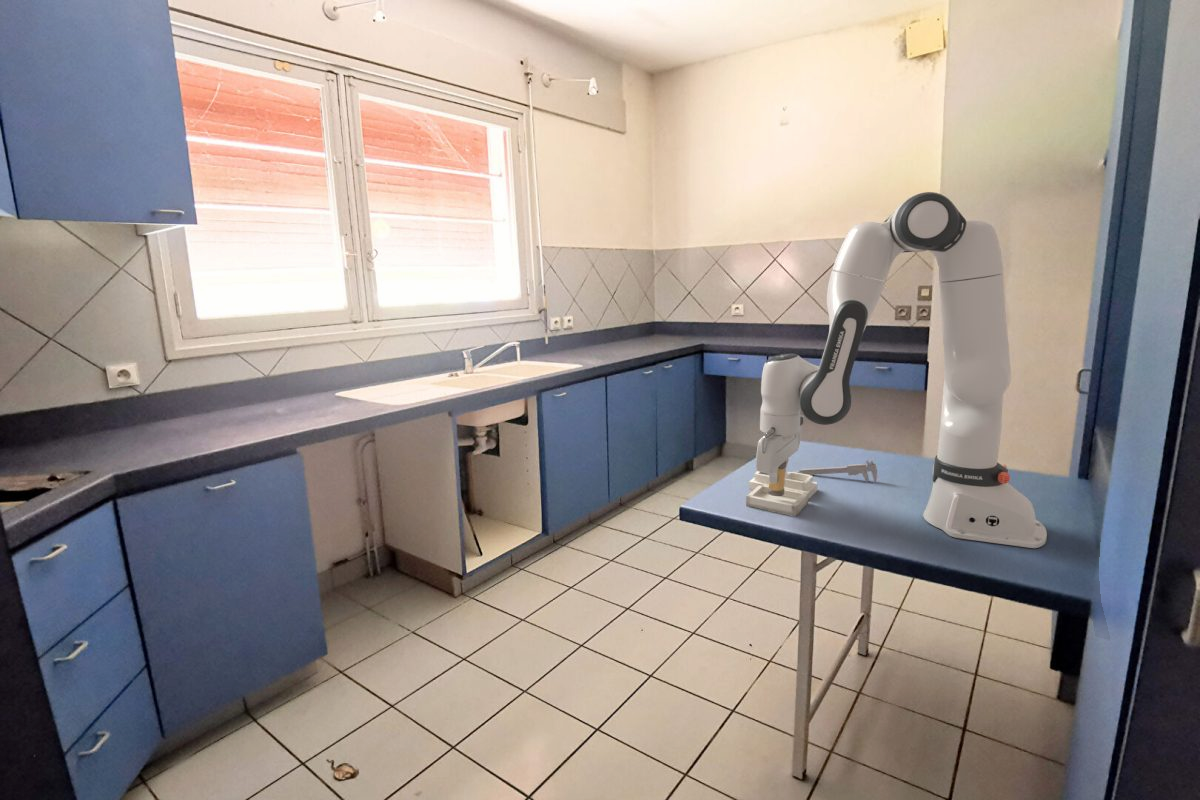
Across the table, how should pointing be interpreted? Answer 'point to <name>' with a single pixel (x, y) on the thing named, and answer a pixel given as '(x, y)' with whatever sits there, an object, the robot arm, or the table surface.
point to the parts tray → (777, 501)
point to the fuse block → (788, 482)
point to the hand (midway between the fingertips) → (777, 479)
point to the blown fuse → (779, 486)
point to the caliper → (845, 470)
